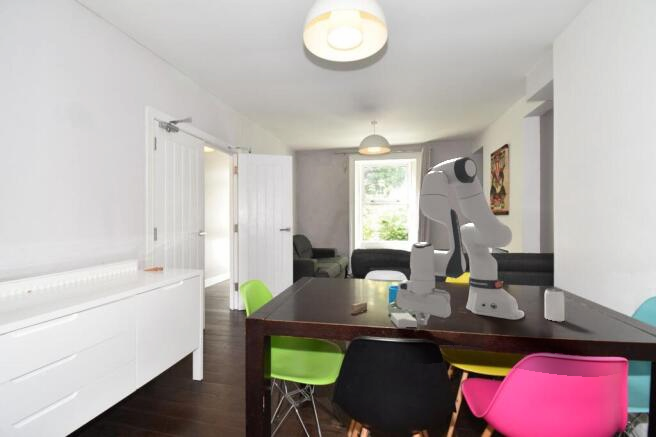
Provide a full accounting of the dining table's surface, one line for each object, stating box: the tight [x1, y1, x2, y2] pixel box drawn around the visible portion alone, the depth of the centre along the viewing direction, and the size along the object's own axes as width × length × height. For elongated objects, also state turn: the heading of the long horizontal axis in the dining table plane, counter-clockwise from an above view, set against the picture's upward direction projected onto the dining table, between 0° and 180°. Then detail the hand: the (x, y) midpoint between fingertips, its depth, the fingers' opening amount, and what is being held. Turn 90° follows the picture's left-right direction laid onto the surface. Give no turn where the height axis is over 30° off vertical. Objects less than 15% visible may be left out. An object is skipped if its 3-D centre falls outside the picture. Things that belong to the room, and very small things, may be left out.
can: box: [544, 288, 565, 323], centre depth 125 cm, size 6×6×12 cm
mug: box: [388, 285, 399, 304], centre depth 149 cm, size 12×8×8 cm
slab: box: [390, 313, 418, 329], centre depth 120 cm, size 10×7×3 cm
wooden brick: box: [351, 300, 368, 315], centre depth 135 cm, size 2×8×4 cm, turn 134°
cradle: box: [387, 302, 415, 317], centre depth 133 cm, size 8×11×4 cm
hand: (422, 324), depth 114 cm, fingers closed
